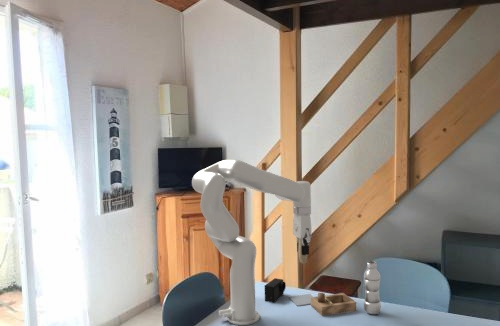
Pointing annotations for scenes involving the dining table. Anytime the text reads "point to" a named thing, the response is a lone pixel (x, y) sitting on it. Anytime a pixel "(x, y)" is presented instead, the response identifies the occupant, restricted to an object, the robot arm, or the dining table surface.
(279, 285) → the digital camera
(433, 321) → the dining table surface
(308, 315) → the dining table surface
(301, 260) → the handle
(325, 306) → the body
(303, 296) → the mat
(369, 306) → the plastic bottle
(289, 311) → the dining table surface
